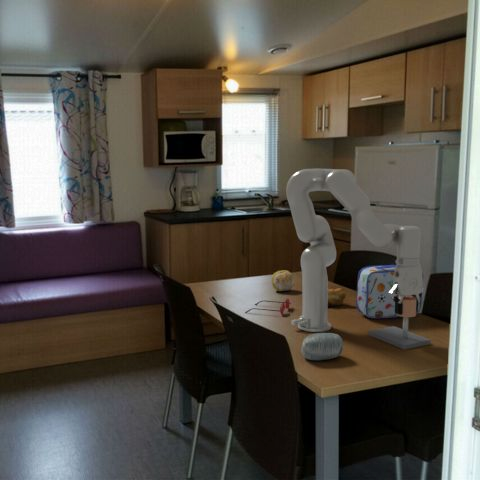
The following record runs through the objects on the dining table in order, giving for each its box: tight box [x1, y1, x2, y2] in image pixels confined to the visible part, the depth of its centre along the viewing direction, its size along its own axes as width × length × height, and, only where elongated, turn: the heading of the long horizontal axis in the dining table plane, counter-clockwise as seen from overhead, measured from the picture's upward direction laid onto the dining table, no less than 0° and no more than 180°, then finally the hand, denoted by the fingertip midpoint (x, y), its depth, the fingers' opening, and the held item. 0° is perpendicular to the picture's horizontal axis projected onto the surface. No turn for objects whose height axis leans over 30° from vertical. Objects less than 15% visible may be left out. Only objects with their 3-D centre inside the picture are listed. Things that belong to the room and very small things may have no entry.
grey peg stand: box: [368, 317, 431, 350], centre depth 203 cm, size 12×18×11 cm, turn 28°
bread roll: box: [328, 287, 347, 307], centre depth 250 cm, size 13×10×8 cm
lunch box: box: [355, 264, 425, 319], centre depth 232 cm, size 28×10×22 cm, turn 106°
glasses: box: [244, 298, 292, 315], centre depth 242 cm, size 14×16×5 cm
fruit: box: [271, 269, 295, 292], centre depth 274 cm, size 10×11×10 cm
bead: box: [396, 296, 417, 318], centre depth 200 cm, size 6×6×6 cm
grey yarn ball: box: [301, 332, 344, 361], centre depth 186 cm, size 14×10×10 cm
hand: (406, 311), depth 200 cm, fingers closed on bead, 6 cm apart
